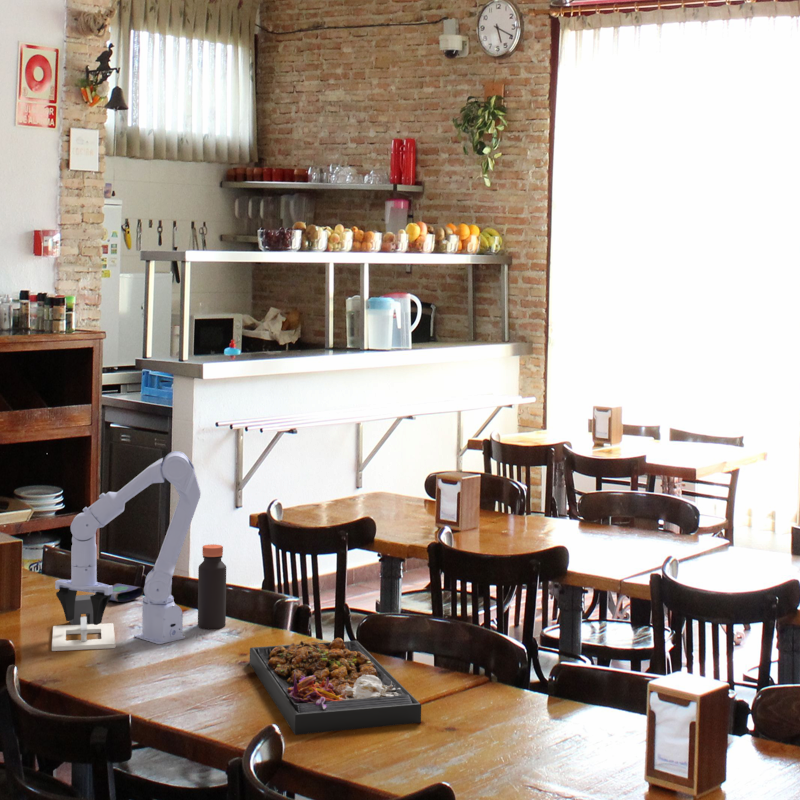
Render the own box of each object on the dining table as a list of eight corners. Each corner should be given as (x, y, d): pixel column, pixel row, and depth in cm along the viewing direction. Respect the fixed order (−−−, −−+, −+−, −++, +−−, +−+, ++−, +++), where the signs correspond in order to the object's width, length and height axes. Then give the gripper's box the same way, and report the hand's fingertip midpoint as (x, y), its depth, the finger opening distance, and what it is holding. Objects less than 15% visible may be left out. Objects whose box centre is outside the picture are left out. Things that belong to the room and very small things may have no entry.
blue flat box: (116, 593, 312) (89, 589, 319) (117, 604, 313) (90, 600, 319) (143, 585, 320) (116, 581, 326) (144, 596, 320) (116, 592, 326)
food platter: (420, 726, 230) (422, 674, 229) (295, 738, 222) (295, 683, 222) (356, 659, 273) (357, 615, 272) (249, 667, 265) (250, 621, 264)
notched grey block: (93, 619, 299) (93, 594, 298) (97, 624, 294) (97, 598, 294) (69, 622, 296) (69, 596, 296) (73, 627, 292) (73, 600, 291)
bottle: (223, 630, 291) (224, 549, 290) (195, 630, 291) (196, 548, 290) (227, 623, 298) (228, 544, 297) (200, 622, 298) (201, 543, 297)
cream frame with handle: (115, 647, 275) (115, 632, 275) (51, 651, 271) (51, 635, 271) (113, 627, 292) (113, 612, 292) (53, 629, 288) (53, 615, 288)
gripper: (120, 564, 282) (119, 621, 283) (68, 558, 287) (67, 614, 288) (102, 570, 275) (102, 628, 276) (49, 564, 280) (49, 621, 281)
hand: (83, 621), depth 281 cm, fingers open, 7 cm apart
